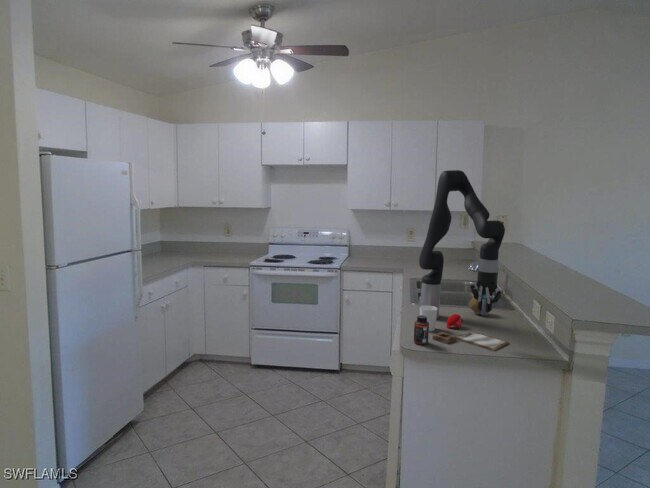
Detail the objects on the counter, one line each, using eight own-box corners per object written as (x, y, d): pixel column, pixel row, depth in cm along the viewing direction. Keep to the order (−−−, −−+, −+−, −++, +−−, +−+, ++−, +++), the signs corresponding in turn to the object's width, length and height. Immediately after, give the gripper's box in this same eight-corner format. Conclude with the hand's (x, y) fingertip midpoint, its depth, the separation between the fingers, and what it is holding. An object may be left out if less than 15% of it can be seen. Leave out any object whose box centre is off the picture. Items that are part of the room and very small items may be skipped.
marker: (479, 316, 180) (481, 295, 179) (483, 315, 182) (484, 294, 181) (485, 318, 178) (487, 296, 177) (489, 316, 180) (490, 295, 179)
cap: (455, 317, 209) (446, 311, 207) (465, 316, 204) (455, 310, 202) (451, 332, 206) (442, 327, 204) (460, 332, 201) (451, 326, 199)
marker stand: (432, 339, 188) (432, 335, 187) (441, 335, 192) (442, 331, 192) (446, 343, 182) (446, 339, 182) (456, 340, 187) (456, 336, 187)
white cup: (427, 333, 195) (428, 311, 194) (414, 328, 202) (415, 306, 201) (439, 330, 200) (441, 308, 198) (427, 325, 206) (428, 304, 205)
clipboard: (454, 338, 189) (454, 336, 189) (470, 332, 197) (470, 330, 197) (493, 351, 175) (494, 348, 175) (509, 343, 184) (509, 341, 184)
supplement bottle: (428, 345, 180) (429, 319, 178) (413, 344, 181) (414, 318, 179) (427, 340, 185) (429, 314, 184) (413, 339, 186) (414, 314, 185)
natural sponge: (464, 314, 226) (466, 295, 224) (473, 310, 232) (474, 292, 230) (481, 318, 219) (483, 298, 218) (489, 314, 225) (491, 295, 224)
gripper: (467, 268, 180) (464, 308, 182) (500, 274, 170) (496, 317, 172) (476, 265, 185) (473, 305, 187) (509, 271, 175) (505, 313, 177)
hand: (484, 311), depth 180 cm, fingers closed on marker, 2 cm apart
